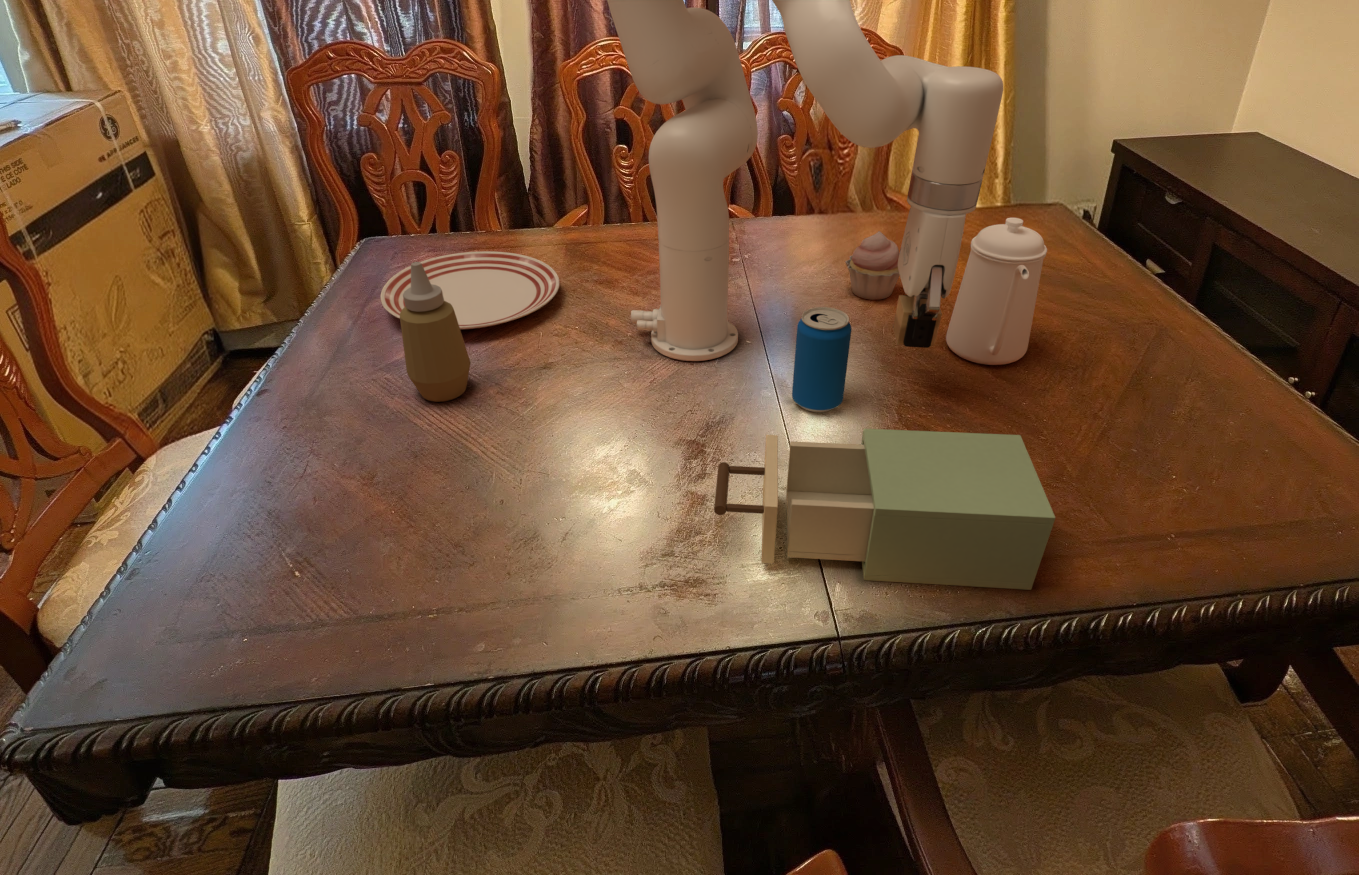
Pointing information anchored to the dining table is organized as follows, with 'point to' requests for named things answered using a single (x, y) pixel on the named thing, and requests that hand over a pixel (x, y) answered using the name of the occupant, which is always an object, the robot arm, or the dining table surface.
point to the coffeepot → (997, 294)
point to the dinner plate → (481, 286)
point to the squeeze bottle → (432, 340)
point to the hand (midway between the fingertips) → (913, 334)
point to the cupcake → (874, 267)
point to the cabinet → (954, 509)
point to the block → (902, 318)
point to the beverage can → (821, 359)
